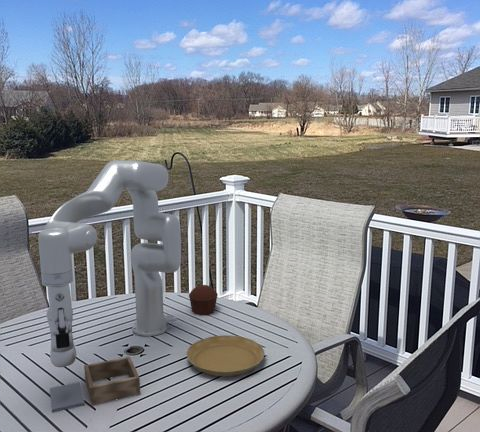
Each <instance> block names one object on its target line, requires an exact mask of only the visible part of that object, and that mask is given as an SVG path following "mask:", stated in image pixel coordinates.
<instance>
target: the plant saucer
mask: <svg viewBox="0 0 480 432" xmlns="http://www.w3.org/2000/svg"><path fill="white" fill-rule="evenodd" d="M264 357H265V349H264V347H263V346H262V345H261V344H260V343H258V342H257V341H255V340H254V339H251V338H248V337H244V336H239V335H231V334H230V335H229V334H228V335H227V334H223V335H213V336H207V337H205V338H201V339H200V340H196V341H195V342H193V343H192V344H191V345H190V346H189V347H188V348H187V351H186V358H187V360H188V362H189V363H190V364H191V366H193V367H194V368H195V369H196V370H198V371H200V372H201V373H204V374H205V375H206V374H207V375H210V376H213V377H225V378H226V377H235V376H241V375H243V374H246V373H248V372H251V371H252V370H254V369H255V368H257V367H258V366H259V365H260V364H261V362H262V361H263V359H264Z"/></svg>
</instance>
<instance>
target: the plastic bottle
mask: <svg viewBox="0 0 480 432" xmlns="http://www.w3.org/2000/svg"><path fill="white" fill-rule="evenodd" d="M59 297H60V296H59ZM73 312H74V311H73V309H72V316H74V313H73ZM63 313H64V312H63ZM46 319H47V322H48V323H47V324H48V327H49V333H50V355H49V358H50V361H51V365H53V366H54V367H55V368H65V367H66V368H67V367H68V366H71V365H72V364H74V363H75V362H76V359H77V350H76V346H75V343H74V338H73V337H74V336H73V320H72V321H71V322H70V321H68V320H67V327H68V332H69V342H70V346H69V347H66V348H60V349H57V347H56V335H55V334H57V333H56V324H54V323H53V321H52V316H51V312H50V306H49V307H48V308H47V311H46ZM64 321H65V318H64ZM57 322H59V319H57ZM58 327H60V326H59V324H58Z"/></svg>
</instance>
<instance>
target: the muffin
mask: <svg viewBox="0 0 480 432" xmlns="http://www.w3.org/2000/svg"><path fill="white" fill-rule="evenodd" d="M218 296H219V295H218V292H217V291H216V290H215V289H214V288H213V287H212V286H210V285H207V284H200V285H196V286H195V287H194V288H193V289H192V290H191V291H190V293H189V294H188V297H189V303H190V307H191V312H192V313H193V314H194V315H198V316H208V315H210V314H212V315H213V314H214V313H215V311H216V306H217V298H218Z"/></svg>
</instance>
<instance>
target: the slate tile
mask: <svg viewBox="0 0 480 432" xmlns="http://www.w3.org/2000/svg"><path fill="white" fill-rule="evenodd" d="M49 394H50V405H51V412H52V413H55V412H61V411H63V410H69V409H73V408H77V407H82V406H85V398H84V394H83V389H82V385H81V381H77V382H73V383H68V384H63V385H59V386H53V387H49Z"/></svg>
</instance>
